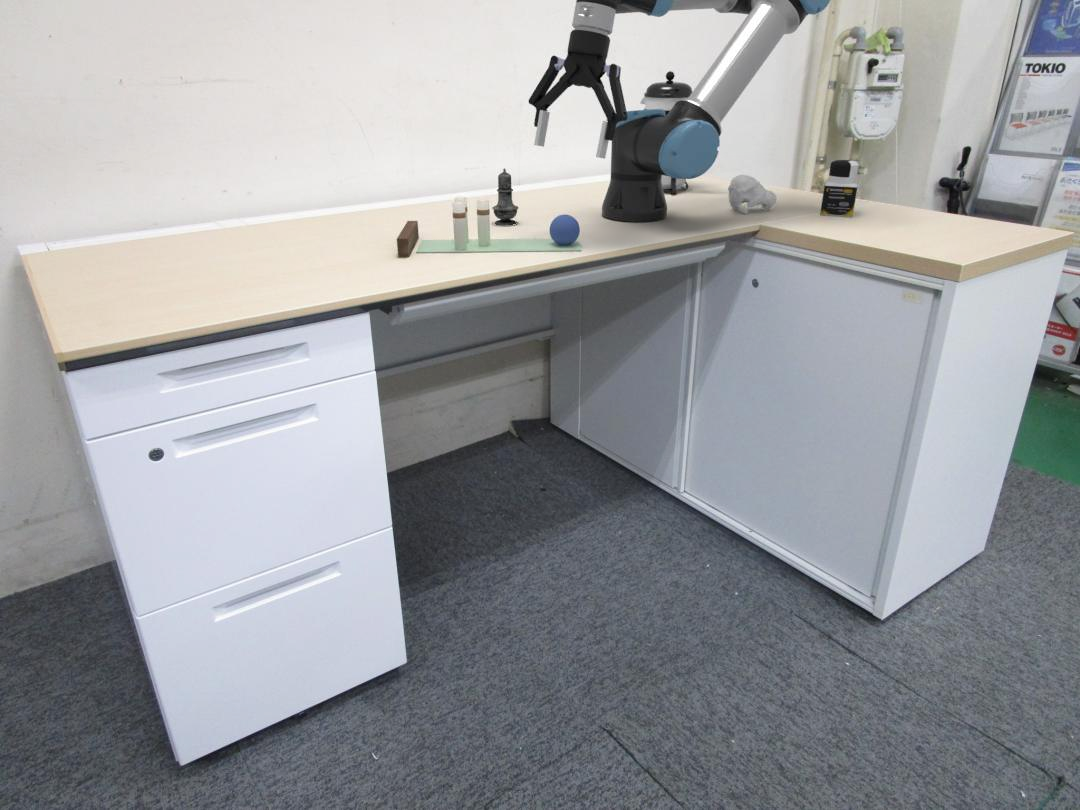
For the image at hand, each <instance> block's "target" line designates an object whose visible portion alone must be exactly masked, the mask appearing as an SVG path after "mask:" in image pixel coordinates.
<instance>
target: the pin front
mask: <svg viewBox="0 0 1080 810" xmlns="http://www.w3.org/2000/svg"><path fill="white" fill-rule="evenodd" d="M490 211H491V209H490V200H489V199H487V198H480V199H476V216H477V217H476V219H477V222H476V223H477V239H478V245H479V246H483V247H485V246H490V239H491V221H490V219H491V217H490V215H491V214H490V213H491V212H490Z"/></svg>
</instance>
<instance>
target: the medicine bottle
mask: <svg viewBox="0 0 1080 810" xmlns="http://www.w3.org/2000/svg"><path fill="white" fill-rule="evenodd" d="M829 167H830V168H829V174H828V179H826V181H825V183H824V187H823V193H822V200H821V204H820V205H821V206H820V211H819V214H820V216H827V217H841V218H842V217H843V218H853V216H854V209H855V206H856V198H857V193H858V188H859V187H858V186H859V182H858V181H857V176H858V171H859V167H860V164H859V162H857V161H855V160H849V159H848V160H847V159H836V160H833V161H832V162H830V166H829Z"/></svg>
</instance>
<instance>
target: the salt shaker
mask: <svg viewBox="0 0 1080 810" xmlns="http://www.w3.org/2000/svg"><path fill="white" fill-rule="evenodd" d="M502 171H503V172H501V173H499V174H498V176H497V178H498V179H497V180H498V183H497V185H498V189H496V191H497V193H498V194H497V195H498V199H497V204H496V205H494V206H492V208H491V209H492V211H493V213H494V216H495V217H496V218H497V219H498V220H496V221H495V224H496V225H495V226H497V225H513V224H516V223H517V224H518V221H516V220H514V218H515V217H516V216H517V214H518V210H519V206H518V205H516V204H514V201H513V191H514V189H513V188H512V175H511V174H510V173H508V172H507V170H506V168H503V169H502ZM517 224H516V225H517ZM513 226H514V225H513Z"/></svg>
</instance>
